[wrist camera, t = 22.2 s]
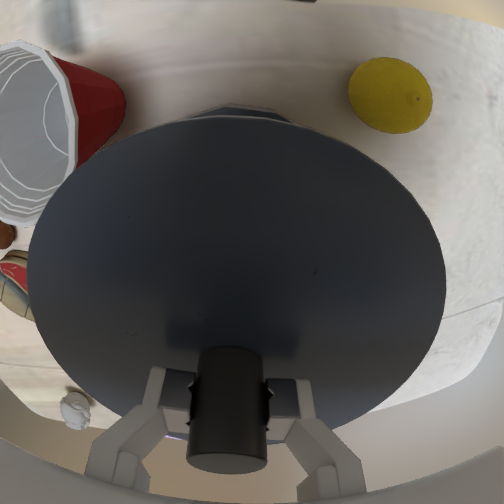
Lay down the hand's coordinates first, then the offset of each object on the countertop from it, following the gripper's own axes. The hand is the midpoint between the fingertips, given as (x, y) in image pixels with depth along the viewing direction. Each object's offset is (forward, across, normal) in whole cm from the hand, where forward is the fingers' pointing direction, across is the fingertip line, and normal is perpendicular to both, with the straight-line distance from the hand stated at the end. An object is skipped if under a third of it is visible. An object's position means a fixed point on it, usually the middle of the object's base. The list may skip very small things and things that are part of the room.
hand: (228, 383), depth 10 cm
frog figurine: (+18, +25, +39) cm, 50 cm away
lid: (+2, 0, 0) cm, 2 cm away
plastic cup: (+18, +13, -7) cm, 23 cm away
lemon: (+18, -9, -11) cm, 23 cm away
